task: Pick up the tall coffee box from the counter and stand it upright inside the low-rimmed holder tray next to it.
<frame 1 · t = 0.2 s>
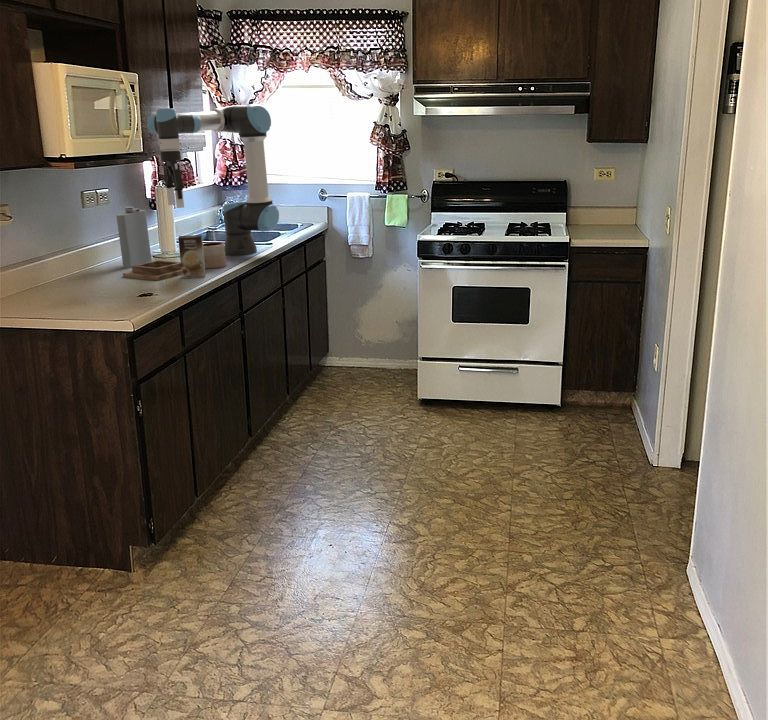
hand: (176, 206, 314), 27 cm above the counter, fingers open, 13 cm apart
coffee box: (194, 277, 319), on the counter
holder: (158, 274, 327), on the counter
planter: (213, 267, 339), on the counter
flask: (137, 264, 351), on the counter
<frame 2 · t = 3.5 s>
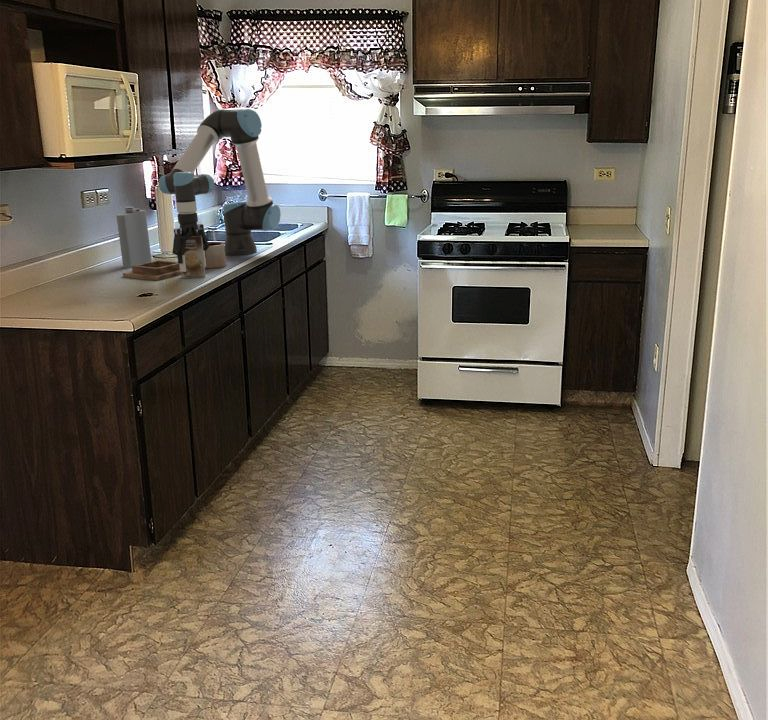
hand: (193, 269, 318), 3 cm above the counter, fingers closed on coffee box, 10 cm apart
coffee box: (194, 276, 319), on the counter, touching gripper
everything else where it was.
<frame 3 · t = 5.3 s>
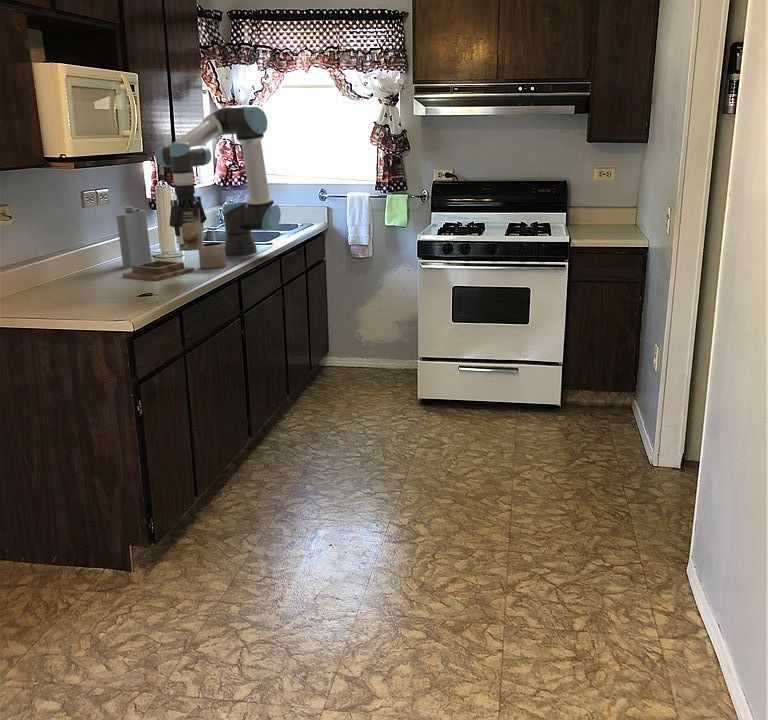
hand: (190, 241, 315), 14 cm above the counter, fingers closed on coffee box, 10 cm apart
coffee box: (191, 249, 316), point 11 cm above the counter, touching gripper
everything else where it was.
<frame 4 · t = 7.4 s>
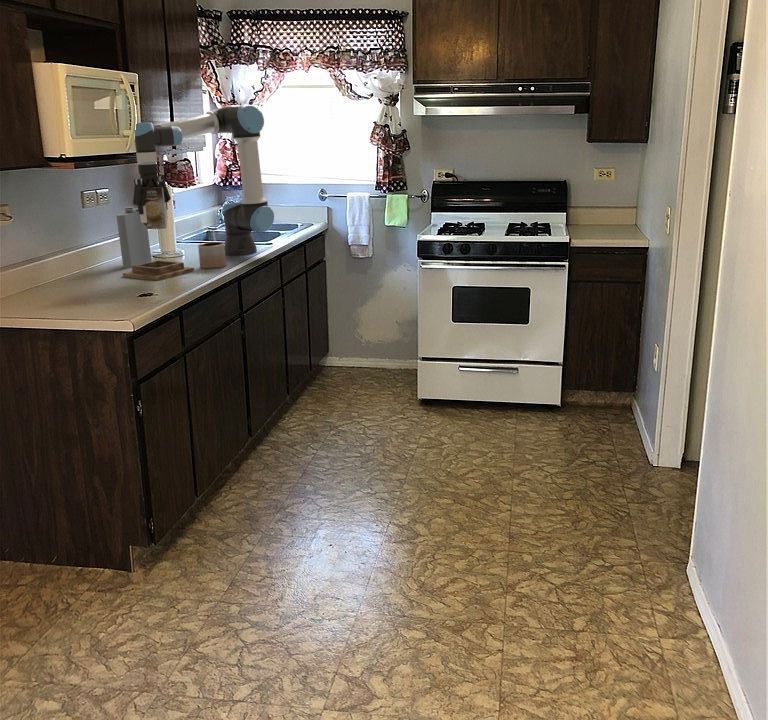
hand: (154, 220, 320), 22 cm above the counter, fingers closed on coffee box, 10 cm apart
coffee box: (155, 228, 321), point 18 cm above the counter, touching gripper
everything else where it was.
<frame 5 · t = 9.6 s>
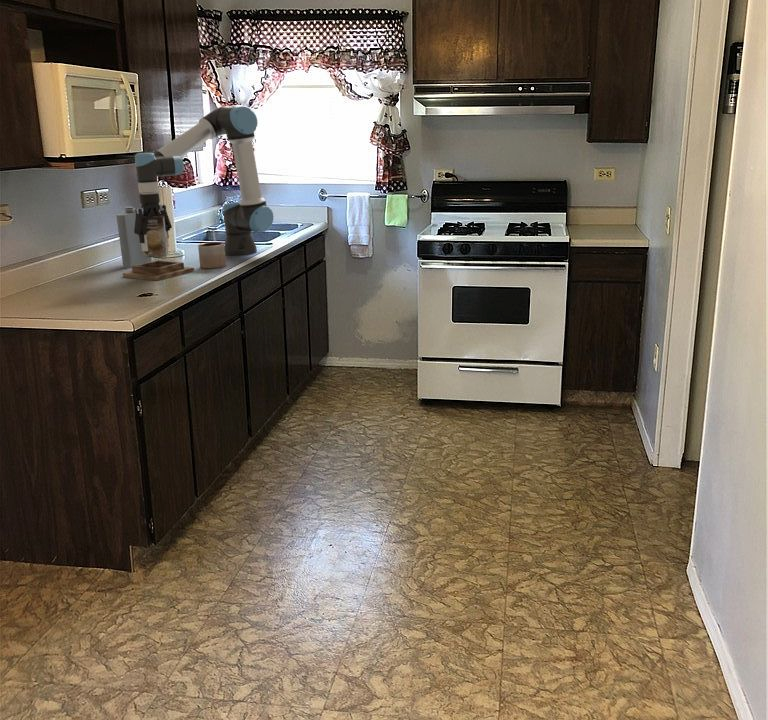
hand: (155, 248, 324), 10 cm above the counter, fingers closed on coffee box, 10 cm apart
coffee box: (156, 256, 325), point 7 cm above the counter, touching gripper
everything else where it was.
when the fingers open (6 cm above the counter, at t = 11.4 s): coffee box drops 2 cm, resting on holder.
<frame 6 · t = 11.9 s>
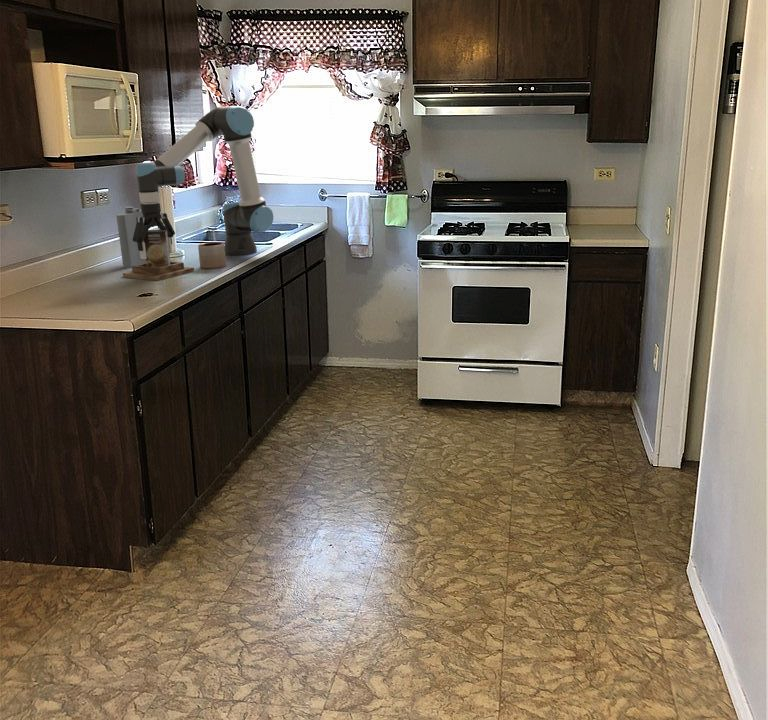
hand: (156, 256, 325), 7 cm above the counter, fingers open, 13 cm apart
coffee box: (159, 270, 327), point 1 cm above the counter, touching holder
everything else where it was.
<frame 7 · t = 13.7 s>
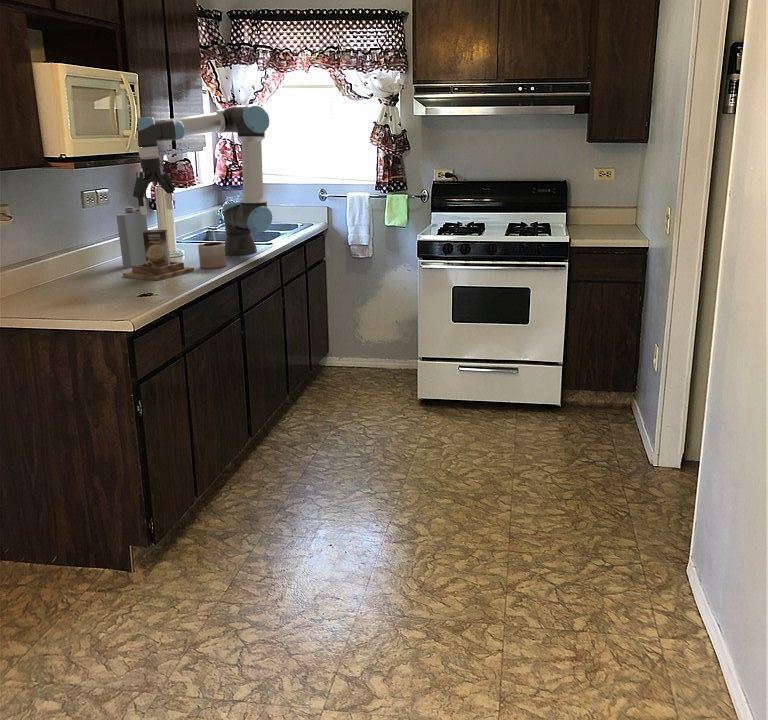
hand: (157, 211, 324), 25 cm above the counter, fingers open, 13 cm apart
nothing on the counter moved.
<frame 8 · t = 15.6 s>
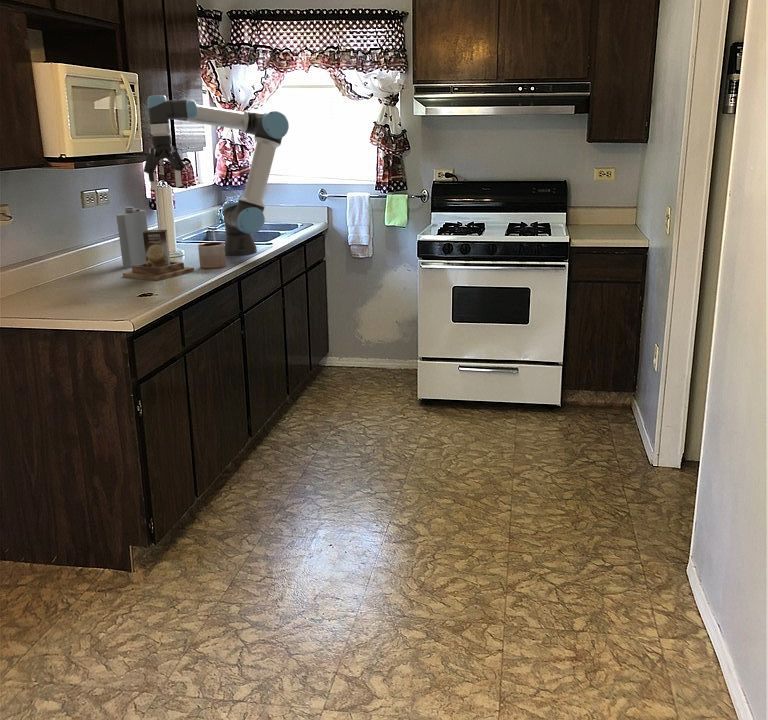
hand: (167, 188, 334), 33 cm above the counter, fingers open, 13 cm apart
nothing on the counter moved.
at the end: coffee box 0.4 cm off-centre on the holder, point 1.3 cm above the holder's base; coffee box tilted 0°; the gripper is holding nothing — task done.
